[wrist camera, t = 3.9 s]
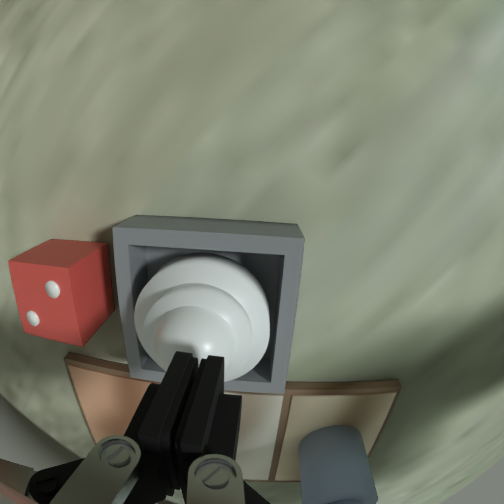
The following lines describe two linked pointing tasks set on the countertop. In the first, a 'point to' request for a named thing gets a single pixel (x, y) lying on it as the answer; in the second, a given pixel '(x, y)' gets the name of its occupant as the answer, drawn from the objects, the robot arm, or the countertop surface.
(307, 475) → the pawn
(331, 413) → the game track
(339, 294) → the countertop surface
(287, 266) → the base
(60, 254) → the red die
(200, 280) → the dome
